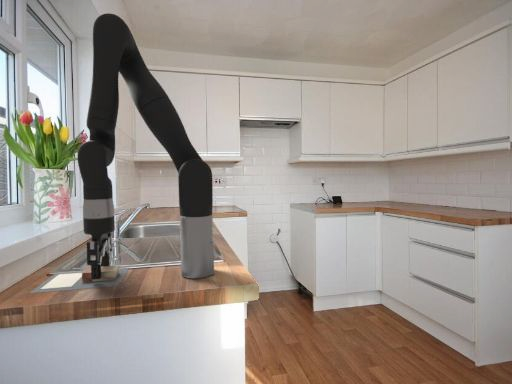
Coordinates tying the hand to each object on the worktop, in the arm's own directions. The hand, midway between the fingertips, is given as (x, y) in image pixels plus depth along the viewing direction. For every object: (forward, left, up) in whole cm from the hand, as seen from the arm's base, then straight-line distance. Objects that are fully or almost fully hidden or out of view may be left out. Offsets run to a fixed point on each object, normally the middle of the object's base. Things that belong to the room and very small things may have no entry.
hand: (101, 273), depth 81 cm
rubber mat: (+4, 0, -2) cm, 4 cm away
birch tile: (0, 0, -1) cm, 1 cm away
